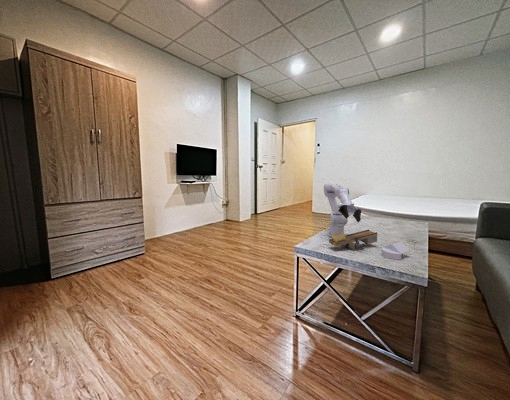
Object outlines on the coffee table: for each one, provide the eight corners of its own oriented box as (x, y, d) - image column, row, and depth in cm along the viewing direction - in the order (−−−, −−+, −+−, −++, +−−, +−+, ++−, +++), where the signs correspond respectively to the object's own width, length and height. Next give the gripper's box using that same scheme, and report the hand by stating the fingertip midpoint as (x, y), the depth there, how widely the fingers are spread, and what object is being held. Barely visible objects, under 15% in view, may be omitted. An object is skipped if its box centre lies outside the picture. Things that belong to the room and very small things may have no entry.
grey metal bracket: (340, 244, 129) (341, 234, 128) (351, 243, 131) (352, 233, 130) (352, 250, 119) (353, 239, 118) (363, 249, 121) (364, 238, 120)
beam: (329, 248, 125) (328, 239, 123) (369, 238, 132) (368, 229, 131) (336, 253, 118) (335, 243, 117) (377, 241, 126) (377, 232, 125)
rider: (332, 240, 123) (332, 234, 122) (341, 238, 124) (340, 232, 124) (336, 243, 119) (336, 236, 118) (345, 240, 121) (345, 234, 120)
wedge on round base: (391, 250, 121) (377, 254, 114) (392, 239, 119) (378, 242, 113) (408, 256, 113) (394, 261, 107) (410, 244, 112) (396, 248, 106)
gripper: (340, 194, 123) (346, 210, 113) (361, 201, 126) (369, 218, 115) (333, 202, 127) (338, 219, 117) (353, 209, 130) (360, 225, 120)
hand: (353, 219), depth 117 cm, fingers open, 7 cm apart
